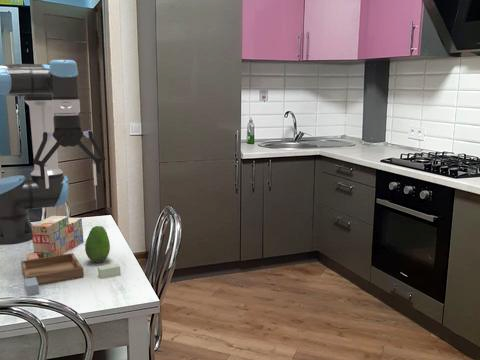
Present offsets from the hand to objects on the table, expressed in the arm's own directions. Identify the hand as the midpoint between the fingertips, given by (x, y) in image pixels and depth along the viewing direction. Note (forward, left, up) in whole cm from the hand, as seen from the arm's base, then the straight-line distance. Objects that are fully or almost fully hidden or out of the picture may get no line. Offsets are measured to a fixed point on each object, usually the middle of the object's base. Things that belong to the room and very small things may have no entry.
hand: (71, 186), depth 147 cm
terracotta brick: (-15, -11, -27) cm, 33 cm away
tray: (-3, -7, -27) cm, 28 cm away
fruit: (-7, +8, -27) cm, 29 cm away
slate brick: (+8, -14, -27) cm, 32 cm away
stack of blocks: (-25, -1, -27) cm, 37 cm away
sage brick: (+7, +8, -27) cm, 29 cm away
